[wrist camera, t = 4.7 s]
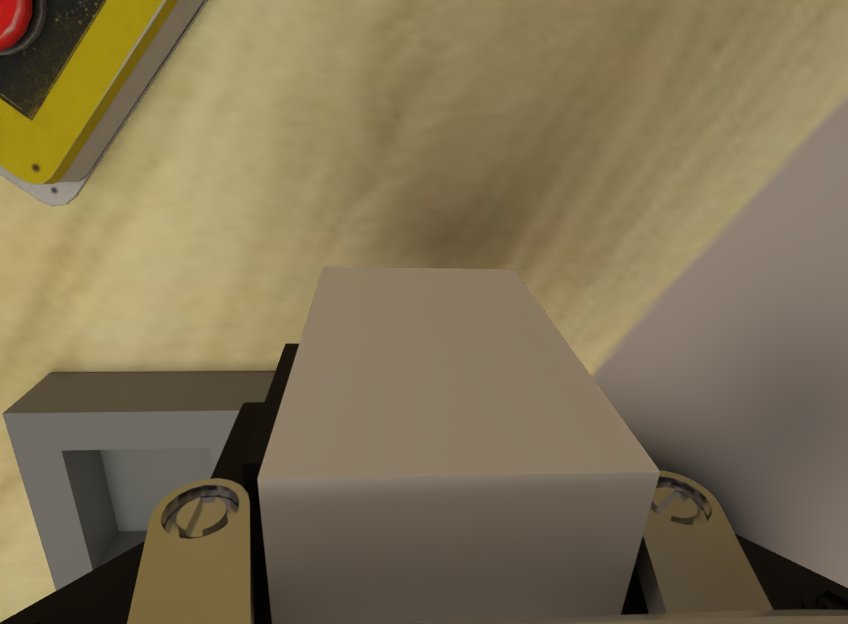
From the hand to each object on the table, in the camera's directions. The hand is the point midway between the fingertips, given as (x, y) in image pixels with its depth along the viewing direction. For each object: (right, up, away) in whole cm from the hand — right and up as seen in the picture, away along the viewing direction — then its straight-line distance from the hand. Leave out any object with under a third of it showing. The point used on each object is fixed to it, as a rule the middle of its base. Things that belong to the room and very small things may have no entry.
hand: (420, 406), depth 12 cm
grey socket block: (-8, -6, +16) cm, 19 cm away
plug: (0, +1, +2) cm, 2 cm away
